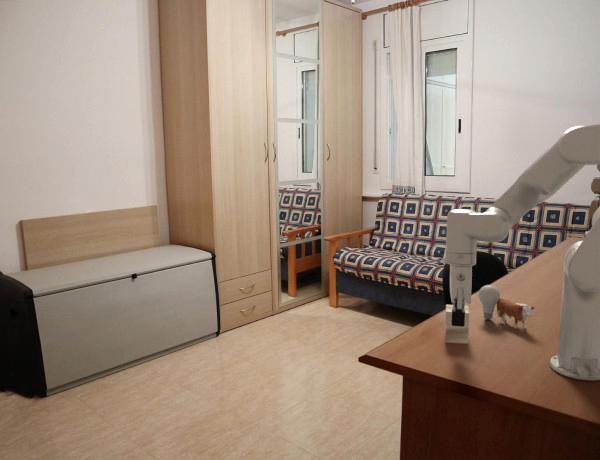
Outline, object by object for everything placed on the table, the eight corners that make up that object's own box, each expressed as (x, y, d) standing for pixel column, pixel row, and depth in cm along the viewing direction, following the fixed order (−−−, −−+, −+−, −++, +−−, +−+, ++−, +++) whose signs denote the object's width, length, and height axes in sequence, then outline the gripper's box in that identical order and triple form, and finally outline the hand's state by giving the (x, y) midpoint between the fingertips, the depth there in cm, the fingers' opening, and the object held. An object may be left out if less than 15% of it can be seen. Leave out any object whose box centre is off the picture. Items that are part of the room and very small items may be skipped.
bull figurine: (525, 335, 145) (527, 307, 143) (492, 320, 157) (493, 294, 156) (537, 333, 146) (539, 305, 145) (503, 318, 159) (505, 292, 157)
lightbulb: (486, 324, 153) (487, 289, 152) (473, 317, 159) (474, 283, 157) (502, 321, 155) (504, 287, 153) (489, 315, 161) (491, 281, 159)
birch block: (467, 344, 139) (469, 313, 138) (445, 342, 141) (446, 311, 139) (466, 336, 145) (468, 306, 143) (444, 334, 146) (445, 304, 145)
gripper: (478, 265, 123) (474, 337, 126) (474, 251, 137) (471, 316, 140) (446, 263, 125) (443, 334, 128) (445, 250, 139) (442, 314, 142)
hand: (457, 325), depth 134 cm, fingers closed
